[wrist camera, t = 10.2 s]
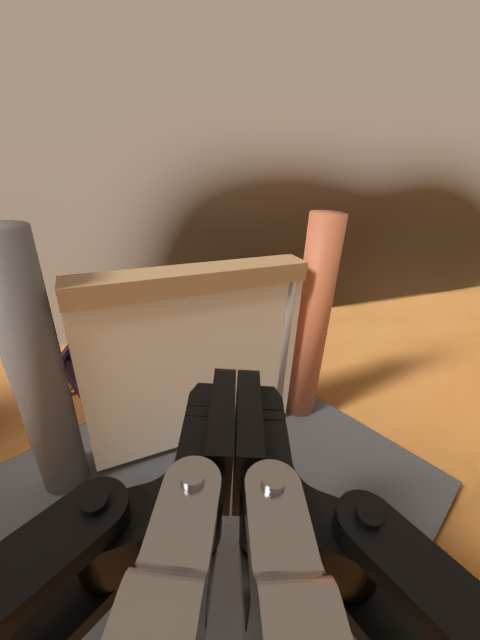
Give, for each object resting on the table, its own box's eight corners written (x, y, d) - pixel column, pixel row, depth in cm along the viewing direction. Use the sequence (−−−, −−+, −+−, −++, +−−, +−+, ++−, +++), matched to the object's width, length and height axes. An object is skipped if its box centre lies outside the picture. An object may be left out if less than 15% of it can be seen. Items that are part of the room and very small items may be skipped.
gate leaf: (97, 474, 21) (54, 289, 16) (95, 451, 23) (56, 276, 17) (287, 415, 27) (307, 262, 21) (274, 400, 28) (291, 254, 23)
